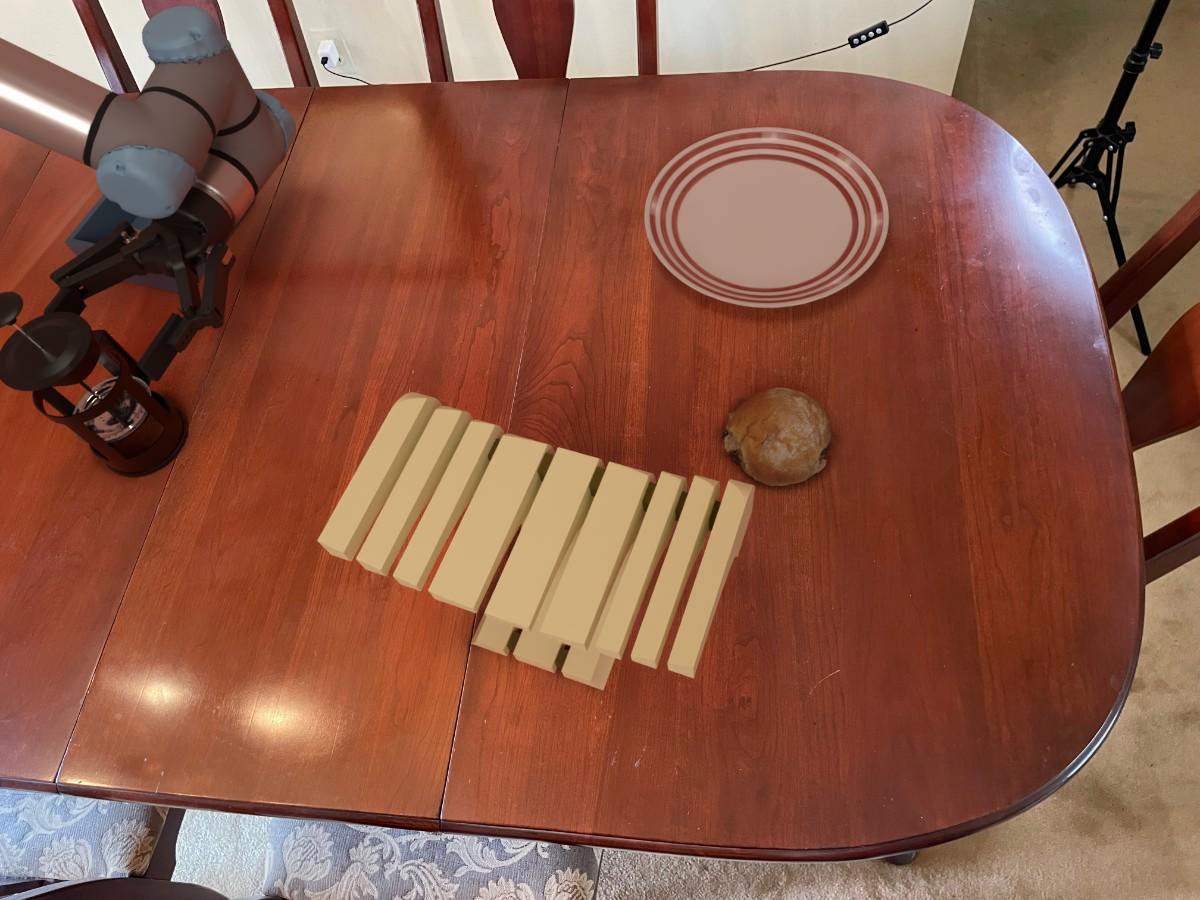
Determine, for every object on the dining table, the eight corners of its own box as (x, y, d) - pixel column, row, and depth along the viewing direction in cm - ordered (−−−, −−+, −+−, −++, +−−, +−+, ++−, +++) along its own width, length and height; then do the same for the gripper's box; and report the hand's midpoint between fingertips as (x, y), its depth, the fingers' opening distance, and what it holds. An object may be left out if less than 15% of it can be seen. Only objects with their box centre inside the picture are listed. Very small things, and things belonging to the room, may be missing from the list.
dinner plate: (916, 180, 100) (923, 158, 97) (835, 354, 89) (840, 335, 86) (703, 125, 109) (703, 103, 106) (605, 278, 98) (602, 258, 95)
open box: (93, 274, 107) (63, 242, 102) (165, 182, 114) (140, 147, 109) (188, 296, 103) (162, 263, 98) (256, 199, 111) (235, 164, 106)
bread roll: (793, 512, 85) (838, 487, 78) (703, 469, 83) (741, 441, 76) (814, 429, 89) (858, 399, 82) (729, 388, 88) (766, 353, 81)
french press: (176, 479, 90) (28, 352, 70) (93, 486, 91) (-78, 362, 71) (199, 388, 96) (67, 247, 76) (120, 395, 97) (-31, 257, 77)
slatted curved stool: (746, 557, 79) (757, 468, 64) (695, 723, 72) (693, 667, 57) (461, 473, 87) (410, 375, 72) (391, 615, 80) (317, 540, 65)
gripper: (313, 249, 94) (214, 406, 84) (131, 213, 100) (20, 356, 90) (284, 198, 87) (174, 363, 78) (92, 163, 93) (-33, 311, 84)
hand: (91, 359), depth 84 cm, fingers open, 13 cm apart
